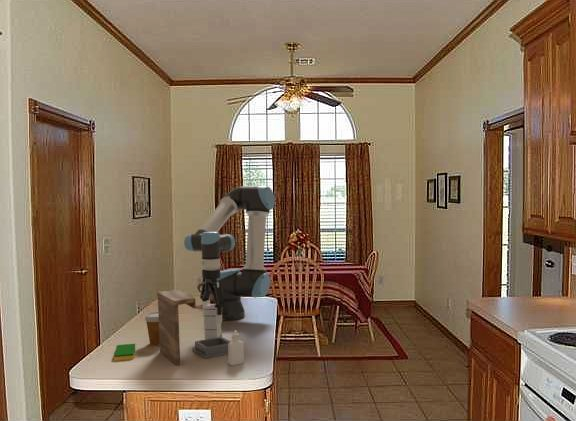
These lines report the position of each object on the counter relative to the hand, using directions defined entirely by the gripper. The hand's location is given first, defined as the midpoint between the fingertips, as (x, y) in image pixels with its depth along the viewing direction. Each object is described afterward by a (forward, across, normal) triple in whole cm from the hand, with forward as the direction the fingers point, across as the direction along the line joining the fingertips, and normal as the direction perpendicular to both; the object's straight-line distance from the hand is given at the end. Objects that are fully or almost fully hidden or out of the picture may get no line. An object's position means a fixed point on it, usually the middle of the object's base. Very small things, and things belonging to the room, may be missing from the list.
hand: (212, 319), depth 222 cm
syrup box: (+9, 0, 0) cm, 9 cm away
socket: (+9, +15, -6) cm, 18 cm away
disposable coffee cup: (+9, -9, -21) cm, 24 cm away
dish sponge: (+10, -2, -36) cm, 37 cm away
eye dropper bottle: (+9, +33, -5) cm, 34 cm away
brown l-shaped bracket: (+9, +13, -20) cm, 25 cm away
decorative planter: (+8, -63, +28) cm, 70 cm away
